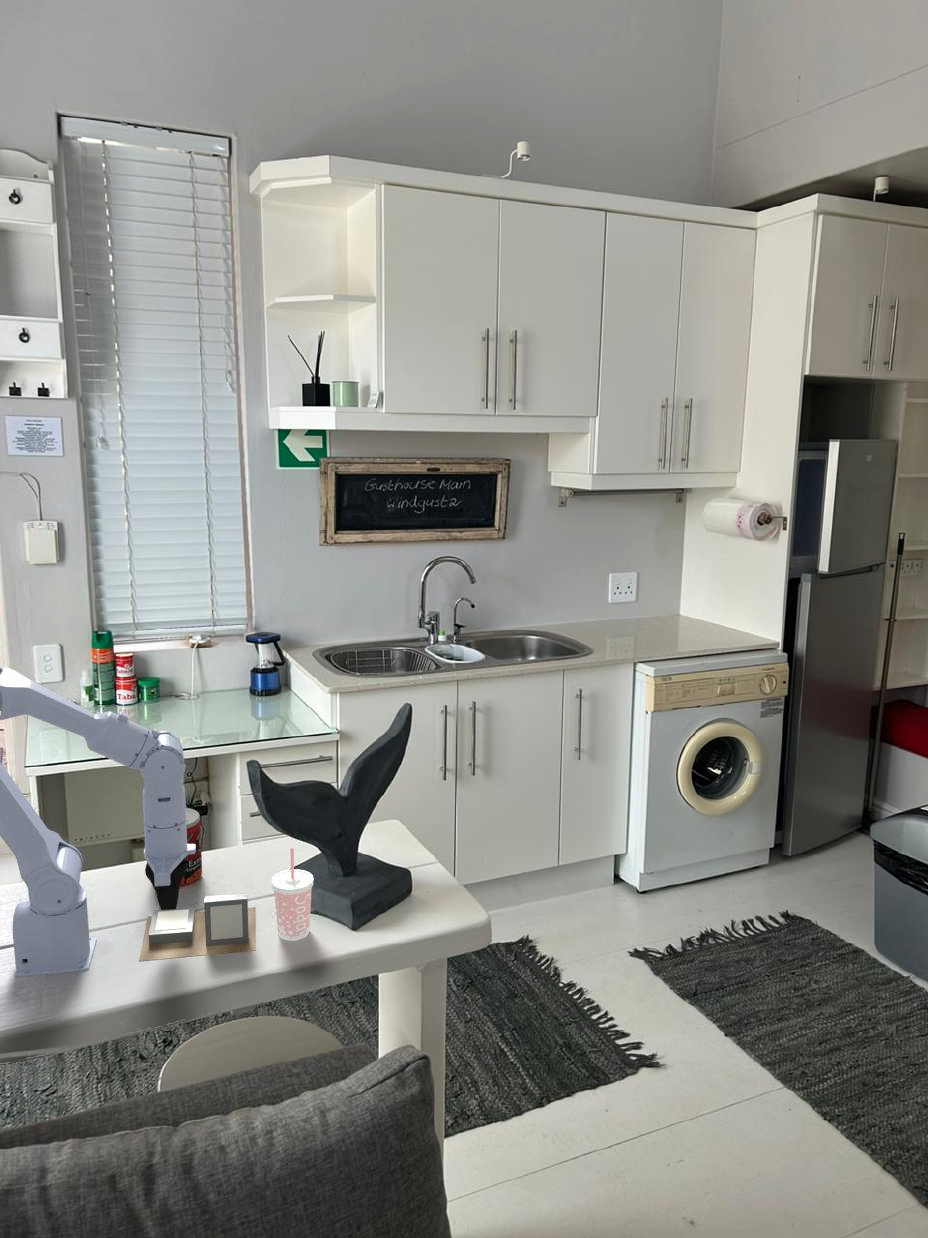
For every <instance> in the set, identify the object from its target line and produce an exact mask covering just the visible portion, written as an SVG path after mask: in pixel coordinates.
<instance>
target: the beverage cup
mask: <svg viewBox="0 0 928 1238" xmlns="http://www.w3.org/2000/svg"><path fill="white" fill-rule="evenodd" d="M289 850H290V869H286V870H282V871H279V872H278V873H275V874H274V875H273V876H272V878H271V887H272V889H273V894H274V903H275V914H276V926H277V935H278V937H280V939H282V940H285V941H290V942H292V941H299V940H302V939H305V938H306V937H307V936H308V935H309V933H310V929H311V909H312V908H311V906H312V905H311V904H312V890H313V889H312V888H313V887H314V880H315V879H314V875H313V874H312V873H311V872H310V871H307V870H304V869H299V868H296V869H295V850H294V846H291V847H290V848H289Z"/></svg>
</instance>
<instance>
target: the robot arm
mask: <svg viewBox="0 0 928 1238" xmlns="http://www.w3.org/2000/svg"><path fill="white" fill-rule="evenodd" d="M23 715H27V716H31V717H32V718H34V719H37V720H40V721H43V722H45V723H48V724H50V725H53V726H55V727H58V728H60V729H63V730H65V731H68V732H70V733H72V734H75V735H78V736H81V737H82V738H84V740H85V742H86V745H87V748H88V750H89V751H92V752H94V753H96V754H98V755H100V756H102V757H105V758H107V759H109V760H111V761H113V762H116V763H118V764H120V765H123V766H125V767H126V768H129V769H132V770H136V771H137V770H138V771H139V773H140V776H141V777H142V779H143V786H144V787H143V790H142V811H143V833H144V849H143V857H144V859H145V861H146V865H145V869H144V873H145V876H146V878H147V879H148V881H150V883H151V885H152V887H153V889H154V891H155V895H156V899H157V902H158V904H159V905H158V906H159V908H160V909H161V910H173V909H176V908H178V902H179V894H180V888H181V887H180V884H181V881H182V878H183V876H184V875H185V872H186V870H187V863H188V855H190V854H195V852H196V845H195V844H187V828H186V808H187V807H186V806H187V805H186V804H187V802H186V788H185V785H184V783H185V778H184V777H185V775H184V774H185V773H186V772H185V771H186V767H187V764H185V757H184V755H185V754H184V749H183V748H184V747H183V745H182V743H181V741H180V739H178V737H176V736H175V735H173V734H172V733H171V732H169V731H163V730H162V731H160V730H158V729H156V728H153V729H152V730H151V729H149V728H146V727H145V726H142V725H141V724H138V723H136V722H134V721H132V720H130V719H129V714H128V713H125V712H124V711H119V712H118V713H114V712H113V711H105V712H102V713H93V712H92V711H90V710H88V709H86V708H85V707H82V706H80V705H78V704H77V703H75V702H73V701H71V700H69V699H68V698H65V697H64V696H61V695H59V694H57V693H55V692H54V691H52V690H50V689H48V688H46V687H45V686H42V685H40V684H38V683H36V682H35V681H33V680H31V679H30V678H28V677H26V676H24V675H23V674H21V673H19V672H17V671H16V670H15V669H12V668H9V667H3V668H2V667H1V666H0V721H4V720H8V719H12V718H15V717H20V716H23ZM0 838H1V839H2V840H3V841H4V843H5V844H6V846H7V847H8V849H9V850H10V851H11V852H12V854H13V855H14V857H15V859H16V863H17V866H18V871H19V875H20V878H21V879H22V881H23V882H24V884H25V885H26V887H27V891H28V901H24V902H19V903H17V904H16V906H15V909H14V913H13V917H12V918H13V919H12V941H13V952H14V962H15V963H14V964H15V974H14V977H15V978H18V977H19V978H21V977H30V976H41V975H51V974H52V975H54V974H63V973H64V974H65V973H73V972H84V971H88V970H89V969H90V966H91V962H92V959H93V956H94V952H95V947H96V945H97V941H98V938H97V937H90V928H89V915H88V902H87V901H88V900H87V892H86V890H85V889H84V888H83V887H82V886H81V884H80V882H81V881H80V880H81V874H82V870H83V866H84V858H83V855H82V853H81V851H79V849H78V848H76V847H75V845H72V844H69V843H67V842H66V841H65V840H63V838H62V837H61V836H60V834H59V833H58V832H56V831H53V830H50V829H49V828H48V827H47V826H46V824H45V823H44V821H43V820H42V819H41V817H40V816H39V814H38V813H37V812H36V810H35V809H34V807H33V806H32V805H31V803H30V802H29V801H28V799H27V797H26V796H25V795H24V793H23V792H22V790H20V788H19V786H18V785H17V783H16V782H15V781H14V779H13V778H12V777H11V775H10V774H9V772H8V771H7V769H6V768H5V767H4V765H3V764H2V763H1V762H0Z"/></svg>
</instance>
